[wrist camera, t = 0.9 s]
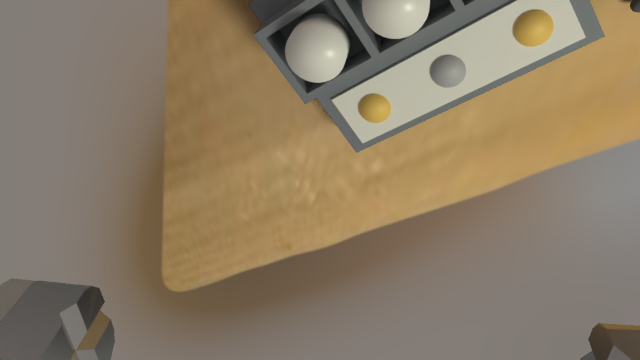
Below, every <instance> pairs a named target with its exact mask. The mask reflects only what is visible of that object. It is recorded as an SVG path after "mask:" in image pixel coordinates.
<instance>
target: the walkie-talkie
mask: <svg viewBox="0 0 640 360" xmlns="http://www.w3.org/2000/svg"><path fill="white" fill-rule="evenodd" d="M630 8H631V10H632V11H634V12H640V0H632V2H631V4H630Z"/></svg>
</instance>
